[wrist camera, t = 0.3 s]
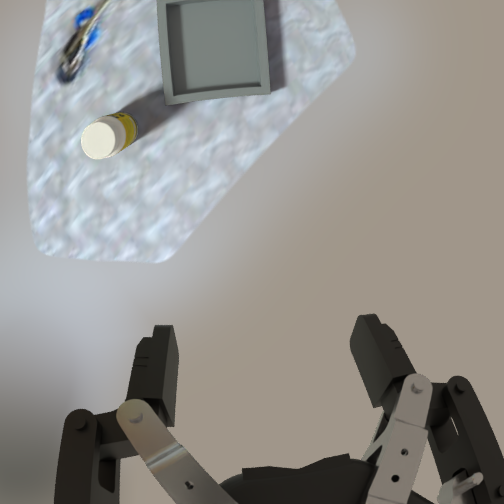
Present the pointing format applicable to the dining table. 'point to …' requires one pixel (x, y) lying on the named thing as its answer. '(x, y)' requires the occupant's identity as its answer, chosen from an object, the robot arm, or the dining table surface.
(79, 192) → the dining table surface
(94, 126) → the supplement bottle
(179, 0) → the tray
